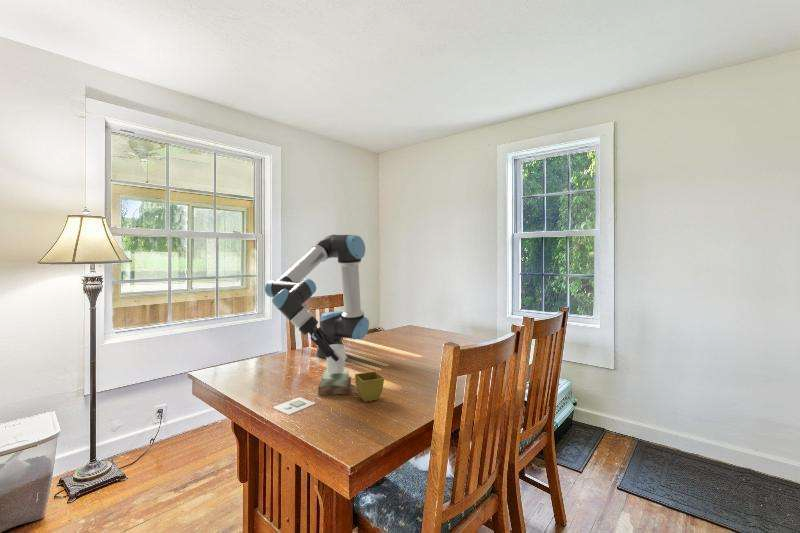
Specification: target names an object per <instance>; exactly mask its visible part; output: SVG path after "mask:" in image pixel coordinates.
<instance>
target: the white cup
mask: <svg viewBox="0 0 800 533" xmlns="http://www.w3.org/2000/svg"><path fill="white" fill-rule="evenodd" d="M329 346H330V347H331V348H332V350H333V351H334V352H336V353H337V354H338V355H339V356H340V357H341V358H342V359H343V360H344V361H345V362H346V359H345V356H347V345H345V344H343V345H342V344H332V345H329ZM326 370H327V372H329V373H333V374H337V373H342V372H344V371H345V365H344V366H343V367H342V368H341V367H340V366H339V365H338V364H337V363H336V362H335V361H334V360H333V359H332V358H331V357H329V358H326Z"/></svg>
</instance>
